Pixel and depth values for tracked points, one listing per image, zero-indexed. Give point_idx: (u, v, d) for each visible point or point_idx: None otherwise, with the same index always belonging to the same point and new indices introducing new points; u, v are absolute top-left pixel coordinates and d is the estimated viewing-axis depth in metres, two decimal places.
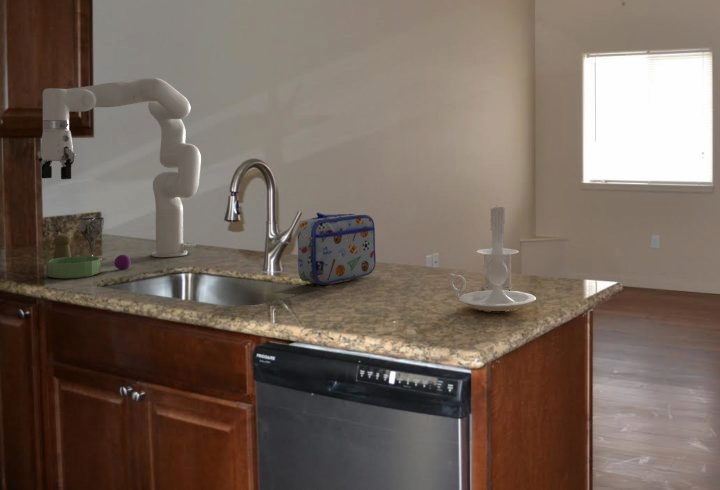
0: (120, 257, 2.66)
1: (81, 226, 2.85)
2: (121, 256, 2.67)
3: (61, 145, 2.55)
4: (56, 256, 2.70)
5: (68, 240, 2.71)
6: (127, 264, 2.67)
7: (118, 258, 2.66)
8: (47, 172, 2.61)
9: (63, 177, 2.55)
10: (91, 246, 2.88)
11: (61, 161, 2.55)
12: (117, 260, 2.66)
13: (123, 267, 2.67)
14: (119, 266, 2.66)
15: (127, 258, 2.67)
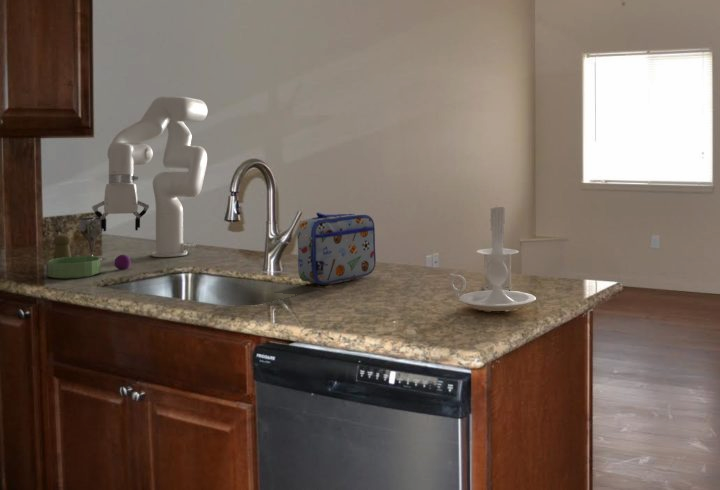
0: (120, 257, 2.66)
1: (81, 226, 2.85)
2: (121, 256, 2.67)
3: (136, 198, 2.68)
4: (56, 256, 2.70)
5: (68, 240, 2.71)
6: (127, 264, 2.67)
7: (118, 258, 2.66)
8: None
9: (137, 228, 2.68)
10: (91, 246, 2.88)
11: (135, 213, 2.68)
12: (117, 260, 2.66)
13: (123, 267, 2.67)
14: (119, 266, 2.66)
15: (127, 258, 2.67)
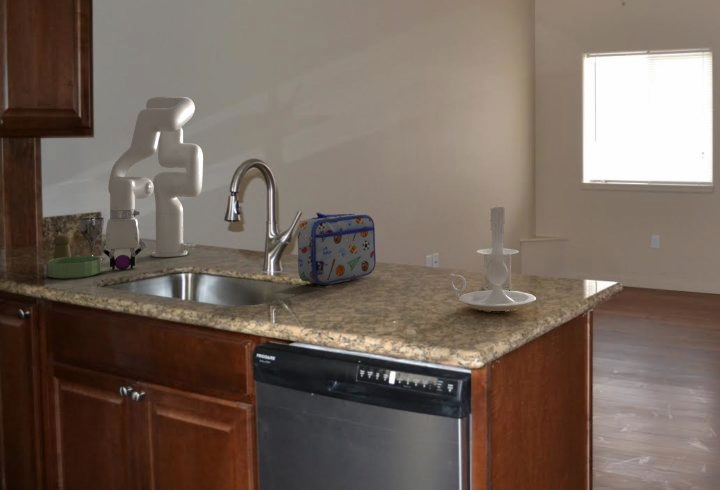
0: (120, 257, 2.66)
1: (81, 226, 2.85)
2: (121, 256, 2.67)
3: (138, 233, 2.69)
4: (56, 256, 2.70)
5: (68, 240, 2.71)
6: (127, 264, 2.67)
7: (118, 258, 2.66)
8: None
9: (132, 267, 2.68)
10: (91, 246, 2.88)
11: (132, 251, 2.68)
12: (117, 260, 2.66)
13: (123, 267, 2.67)
14: (119, 266, 2.66)
15: (127, 258, 2.67)
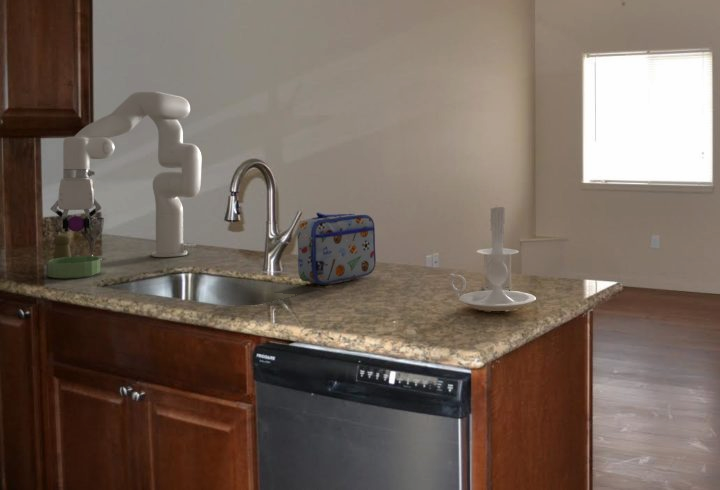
0: (73, 218, 2.55)
1: None
2: (74, 217, 2.56)
3: (92, 193, 2.58)
4: (56, 256, 2.70)
5: (68, 240, 2.71)
6: (81, 226, 2.56)
7: (71, 219, 2.55)
8: None
9: (86, 228, 2.57)
10: (91, 246, 2.88)
11: (86, 212, 2.57)
12: (70, 221, 2.55)
13: (76, 229, 2.55)
14: (72, 227, 2.55)
15: (81, 219, 2.56)
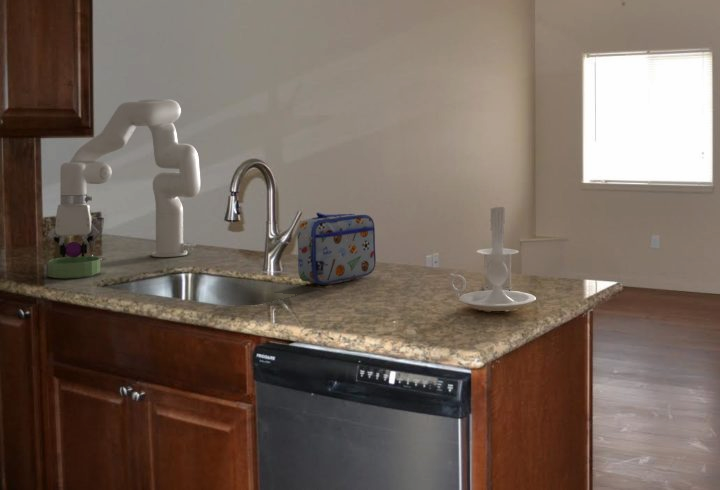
0: (71, 244, 2.55)
1: None
2: (72, 243, 2.55)
3: (90, 219, 2.57)
4: (56, 256, 2.70)
5: (68, 240, 2.71)
6: (78, 251, 2.56)
7: (69, 245, 2.55)
8: None
9: (84, 254, 2.57)
10: (91, 246, 2.88)
11: (84, 237, 2.57)
12: (67, 247, 2.54)
13: (74, 255, 2.55)
14: (69, 253, 2.54)
15: (78, 245, 2.56)
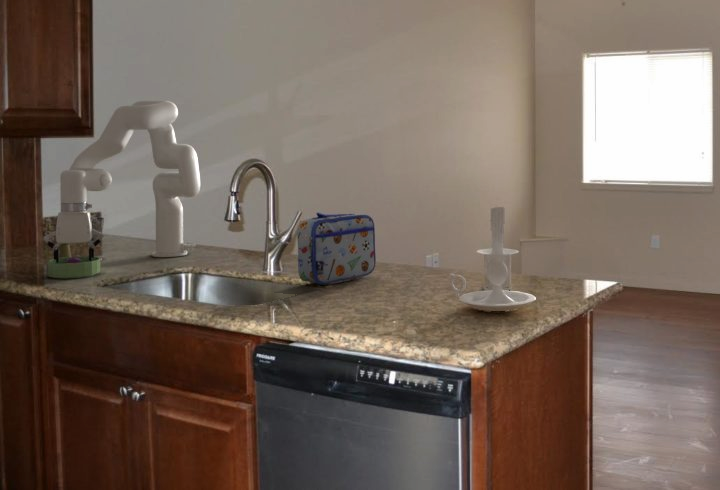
0: (71, 260, 2.55)
1: None
2: (72, 259, 2.56)
3: (90, 227, 2.57)
4: None
5: None
6: None
7: (69, 261, 2.55)
8: (59, 256, 2.55)
9: (91, 258, 2.58)
10: None
11: (89, 243, 2.57)
12: None
13: None
14: None
15: (78, 261, 2.56)
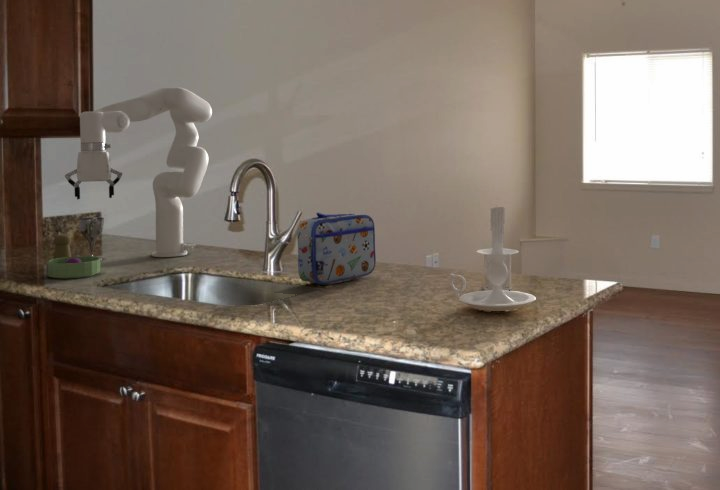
0: (71, 260, 2.55)
1: (81, 226, 2.85)
2: (72, 259, 2.56)
3: (109, 166, 2.68)
4: (56, 256, 2.70)
5: (68, 240, 2.71)
6: None
7: (68, 262, 2.55)
8: (79, 193, 2.66)
9: (111, 196, 2.69)
10: (91, 246, 2.88)
11: (109, 181, 2.69)
12: None
13: None
14: None
15: (78, 261, 2.56)
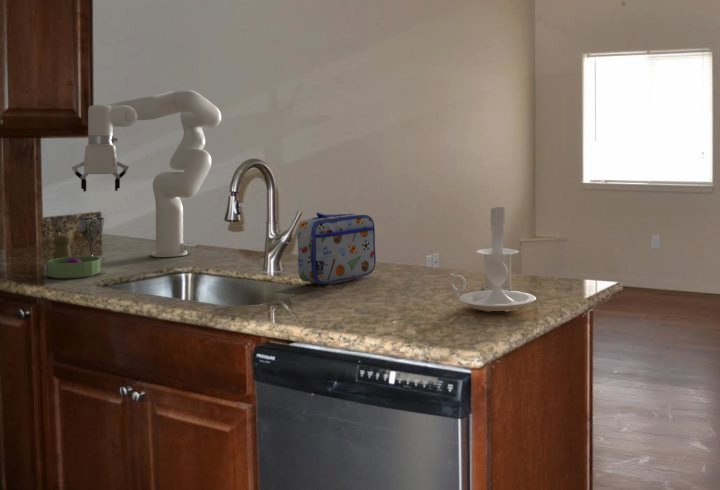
0: (70, 261, 2.55)
1: (81, 226, 2.85)
2: (71, 259, 2.56)
3: (116, 159, 2.72)
4: (56, 256, 2.70)
5: (68, 240, 2.71)
6: None
7: (68, 262, 2.55)
8: None
9: (117, 189, 2.73)
10: (91, 246, 2.88)
11: (115, 174, 2.73)
12: None
13: None
14: None
15: (78, 261, 2.56)
